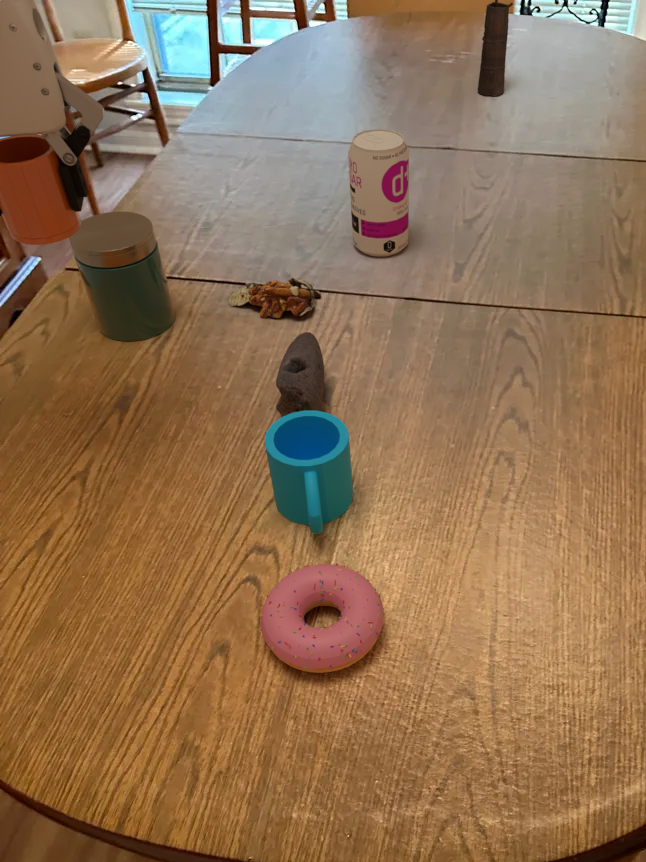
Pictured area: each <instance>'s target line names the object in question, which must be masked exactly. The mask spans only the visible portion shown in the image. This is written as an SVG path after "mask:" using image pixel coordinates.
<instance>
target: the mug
mask: <svg viewBox="0 0 646 862" xmlns="http://www.w3.org/2000/svg"><path fill="white" fill-rule="evenodd" d="M264 447H265V452H266V459H267V465H268V469H269V470H268V471H269V475H270V480H271V487H272V492H273V498H274V502H275V505H276V509H277V510H278V512H279V513H280V514H281V515H282V517H284V518H286V519H287V520H289V521H290V522H292V523H297V524H300V525H303V526H309V529H310V532H311V533H312V534H313V535H319V534H322V533H324V524H327V523H331V522H332V521H334V520H336V519H338V518H341V516H342V515H343V514H345V513H346V512H347V511H348V510H349V508H350V506H351V504H352V502H353V496H354V486H353V473H352V459H351V446H350V433H349V430H348V428H347V425H346V424H345V423H344V422H343V421H342V420H341V419H340V418H339V417H338V416H335V415H334V414H331V413H329V412H325V411H322V410H321V411H309V410H304V411H299V412H294V413H290V414H288V415H286V416H283V417H282V416H281V417H279V418H278V419H277V420H275V421H274V422H273V423H271V425H270V426H269V427H268V429H267V431H266V432H265V438H264Z"/></svg>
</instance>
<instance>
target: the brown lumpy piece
mask: <svg viewBox="0 0 646 862" xmlns="http://www.w3.org/2000/svg"><path fill="white" fill-rule="evenodd" d="M287 281H288V282H287V283H286V282H283V281H279V280H270V281H266V282H265V284H263V285H259V284H258V283H257V282H246V283H245V287H243V286H239V287H237V288H236V290H234V291H232V292H231V293H230V295H229V297H228V298H229V300H228V305H229V306H230V307H234V306H238V307H241V306H243V305H245V304H246V303H248V302H249V304H251V305H252V306H259V307H261V308H260V312H259V317H260V318H261V319H266V318H267V317H270V318H275V319H280V318H282V316H283V313H284V312H285V311H291V313H292V314H293V316H297V317H301V316H303V315H304V314H306V313H307V312H310V311H311V312H312V310H313V308H314V307H316V303H315V297H317V298H321V297H322V294H321V292H320V291H319V290H314V285H315V283H313V282H311V281H310V282H309V281H306V280H301V279H300V278H299V277H296V278H295V277H291V278H289V280H287ZM303 286H304V287H306V288H307V289H306V288H303Z"/></svg>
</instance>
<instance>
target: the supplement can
mask: <svg viewBox="0 0 646 862" xmlns="http://www.w3.org/2000/svg"><path fill="white" fill-rule="evenodd" d="M347 152H348V153H347V155H348V158H347V159H348V173H349V174H348V175H349V193H350V214H351V233H352V243H353V244H354V247H355V248H356V249H358V250H359V251H360V252H361V253H362V254H365V255H367V256H372V257H378V258H380V257H381V258H382V257H389V256H394V255H396V254H398V253H401V252H402V250H403V249H404V248H406V246H407V245H408V244H409V227H410V225H409V223H410V221H409V217H410V216H409V215H410V214H409V207H410V206H409V204H410V202H409V201H410V200H409V199H410V198H409V192H410V191H409V190H410V187H409V185H410V183H409V181H410V180H409V179H410V175H409V174H410V149H409V147H408V145H407V143H406V142H405V137H404V136H403V134H402V133H400V132H397V131H395V130H392V129H386V128H371V129H365V130H362V131H360V132H357V133H356V134H355V135H354V136H353V137H352V140H351V143H350V146H349V149H348V151H347Z"/></svg>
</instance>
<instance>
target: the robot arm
mask: <svg viewBox="0 0 646 862" xmlns="http://www.w3.org/2000/svg"><path fill="white" fill-rule="evenodd" d="M71 107H72V108H73V109H74V110H76V111H77V112H79V113H80V115H81V118H80V120H79V122H77V124H76V125H75V126H74V128H73V130H72V131H70V130H69V128H68V127H67V125H66V124H67V117H66V113H67V112H68V111H69V110H70V109H71ZM104 115H105V108H104V105H102V104H101V103H100V102H98V101H97V100H96V99H94V98H93V97H92V96H91V95H89V94H88V93H86V92H85V91H84V90H82V89H81V88H80V87H79V86H78V85H76V84H74V83H73V82H72V81H71V80H69V79H67V78H66V76H64V73H63V71H62V67H61V65H60V62H59V60H58V57H57V54H56V52H55V48H54V46H53V43H52V40H51V38H50V35H49V33H48V31H47V28H46V25H45V23H44V20H43V18H42V16H41V13H40V11H39V8H38V6H37V4H36V2H35V0H0V138H6V137H10V136H22V135H42V136H43V137H44V138H45V139H46V141H47V142H48V143H49V144H50V146H51V147H52V148H53V150H54V151H55V152H56V153H57V155H58V156H59V159H60V165H59V173H60V176H61V179H62V182H63V185H64V188H65V191H66V194H67V197H68V200H69V203H70V206H71V209H72V210H74V211H75V212H82V210H83V204H84V201H85V200H84V199H85V198H88V197H89V190H88V189H89V188H88V185H87V182H86V179H85V176H84V172H83V168H82V166H81V162H80V159H79V157H80V156H81V154H82V153H83V151H84V150H85V148H86V147H87V145H88V144H89V141H90V140H91V138H92V136H93V135H94V133H95V132H96V130H97V129H98V127H99V125H100V124H101V123H102V121H103V119H104ZM1 216H2V213H1V210H0V217H1Z"/></svg>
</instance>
